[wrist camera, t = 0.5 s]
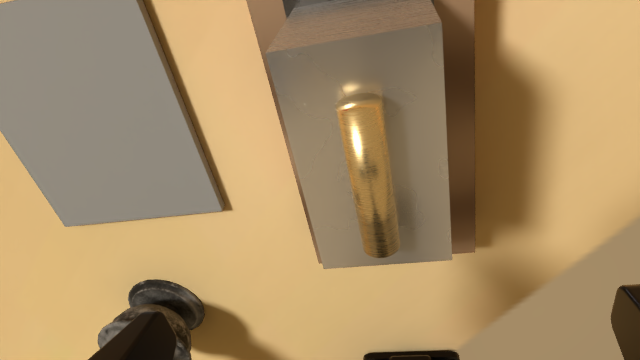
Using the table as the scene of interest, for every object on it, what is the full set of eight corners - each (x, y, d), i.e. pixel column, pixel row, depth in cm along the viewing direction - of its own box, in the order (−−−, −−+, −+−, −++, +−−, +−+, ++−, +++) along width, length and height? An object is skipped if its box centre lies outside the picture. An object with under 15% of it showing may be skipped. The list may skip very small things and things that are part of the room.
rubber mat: (224, 205, 24) (222, 211, 24) (70, 221, 26) (65, 226, 26) (132, -26, 18) (126, -24, 17) (-65, 18, 20) (-74, 21, 19)
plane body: (467, 226, 23) (476, 258, 21) (322, 238, 25) (318, 269, 23) (461, -213, 13) (476, -229, 12) (222, -148, 15) (200, -152, 13)
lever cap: (434, 178, 19) (458, 286, 14) (333, 188, 20) (320, 294, 15) (422, -17, 15) (448, 36, 9) (294, 8, 15) (254, 68, 10)
